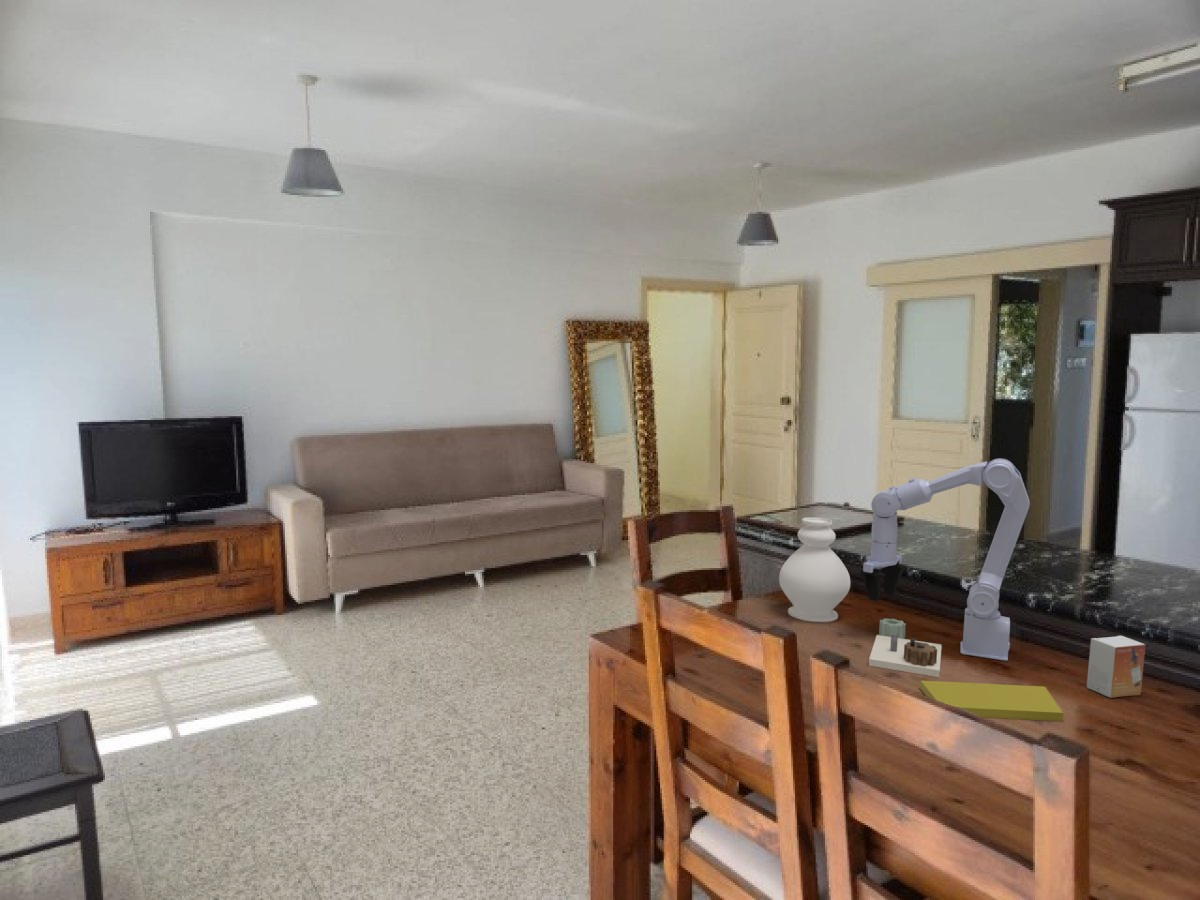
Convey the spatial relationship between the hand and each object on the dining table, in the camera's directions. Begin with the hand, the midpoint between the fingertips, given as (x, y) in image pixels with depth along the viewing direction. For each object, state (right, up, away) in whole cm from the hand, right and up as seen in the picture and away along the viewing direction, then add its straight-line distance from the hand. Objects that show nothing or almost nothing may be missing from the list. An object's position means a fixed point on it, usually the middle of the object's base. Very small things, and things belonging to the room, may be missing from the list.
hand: (881, 596), depth 186 cm
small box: (+36, -14, -30) cm, 49 cm away
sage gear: (+3, -10, 0) cm, 10 cm away
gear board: (0, -11, -14) cm, 18 cm away
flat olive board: (+8, -14, -37) cm, 41 cm away
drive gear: (+1, -10, -19) cm, 22 cm away
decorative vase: (-12, -8, +16) cm, 22 cm away
